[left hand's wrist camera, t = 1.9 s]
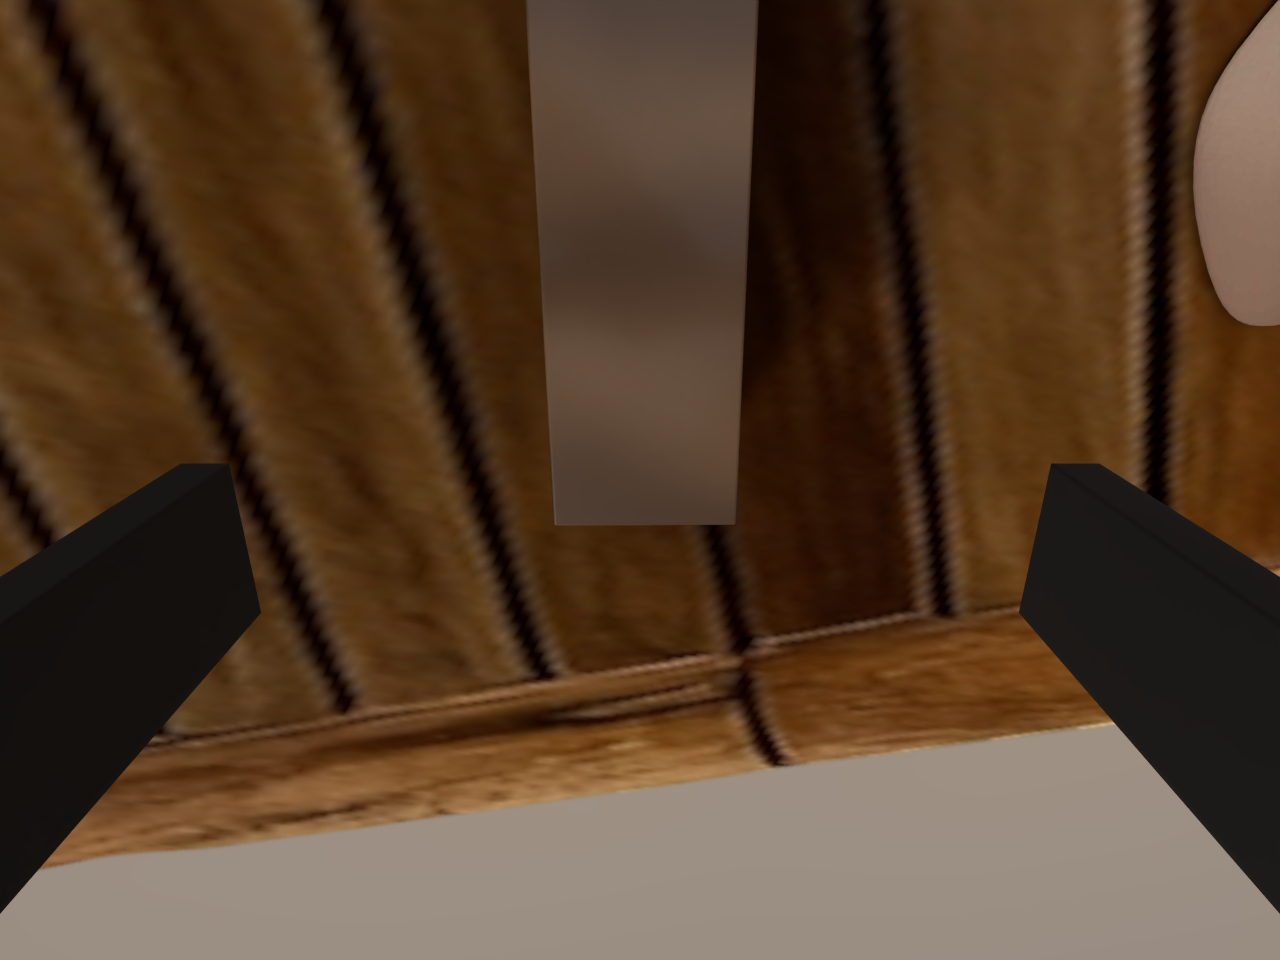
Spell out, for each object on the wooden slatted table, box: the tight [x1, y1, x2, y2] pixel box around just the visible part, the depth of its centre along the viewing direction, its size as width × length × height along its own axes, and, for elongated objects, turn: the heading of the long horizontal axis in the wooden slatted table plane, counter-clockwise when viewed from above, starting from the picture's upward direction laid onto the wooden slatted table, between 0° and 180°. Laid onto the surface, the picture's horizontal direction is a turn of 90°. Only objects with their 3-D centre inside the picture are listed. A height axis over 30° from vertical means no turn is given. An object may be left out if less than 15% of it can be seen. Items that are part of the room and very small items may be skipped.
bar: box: [525, 0, 759, 526], centre depth 20 cm, size 23×5×8 cm, turn 0°
